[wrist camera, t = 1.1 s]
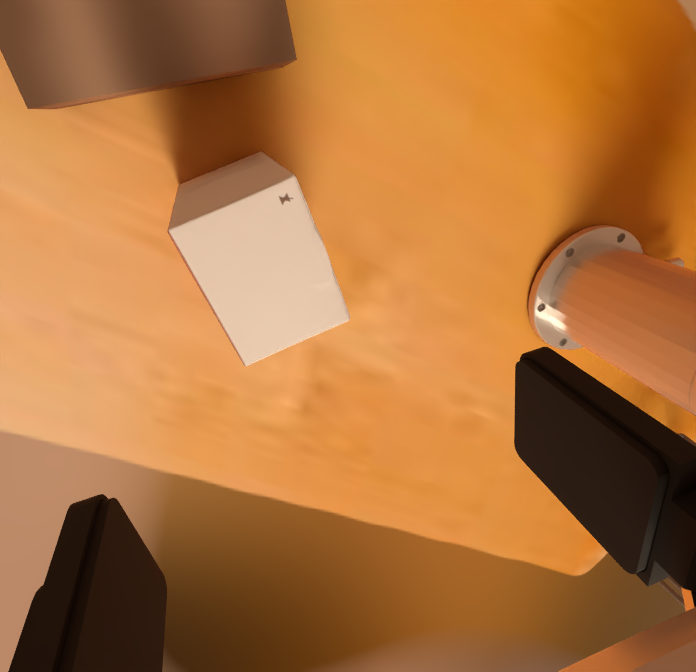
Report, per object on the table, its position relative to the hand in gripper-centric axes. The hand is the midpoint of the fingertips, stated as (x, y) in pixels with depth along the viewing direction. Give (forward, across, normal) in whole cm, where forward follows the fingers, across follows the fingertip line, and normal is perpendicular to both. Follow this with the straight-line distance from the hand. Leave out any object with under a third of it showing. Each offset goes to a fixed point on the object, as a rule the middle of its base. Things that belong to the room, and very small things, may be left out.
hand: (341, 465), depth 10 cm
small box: (+26, 0, 0) cm, 27 cm away
